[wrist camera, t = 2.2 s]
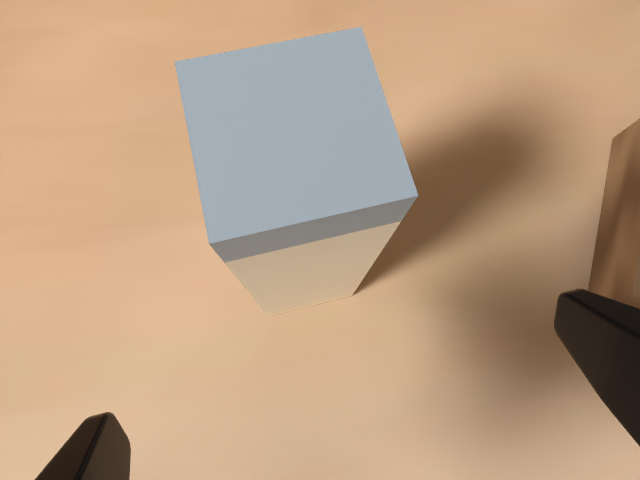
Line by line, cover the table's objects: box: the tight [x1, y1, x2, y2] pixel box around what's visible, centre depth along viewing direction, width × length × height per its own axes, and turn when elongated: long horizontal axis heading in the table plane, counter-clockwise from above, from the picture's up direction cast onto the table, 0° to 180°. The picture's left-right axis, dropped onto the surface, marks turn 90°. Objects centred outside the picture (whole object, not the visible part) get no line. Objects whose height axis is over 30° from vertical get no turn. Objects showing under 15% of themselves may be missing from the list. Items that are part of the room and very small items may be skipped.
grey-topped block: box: [175, 27, 418, 316], centre depth 14 cm, size 4×4×12 cm
